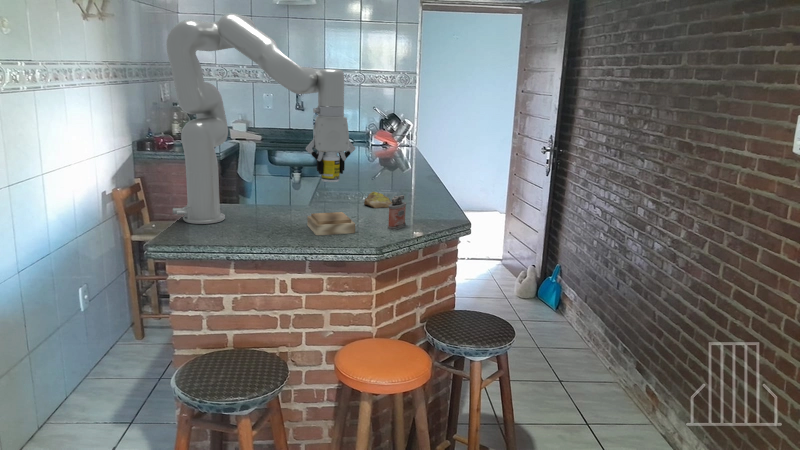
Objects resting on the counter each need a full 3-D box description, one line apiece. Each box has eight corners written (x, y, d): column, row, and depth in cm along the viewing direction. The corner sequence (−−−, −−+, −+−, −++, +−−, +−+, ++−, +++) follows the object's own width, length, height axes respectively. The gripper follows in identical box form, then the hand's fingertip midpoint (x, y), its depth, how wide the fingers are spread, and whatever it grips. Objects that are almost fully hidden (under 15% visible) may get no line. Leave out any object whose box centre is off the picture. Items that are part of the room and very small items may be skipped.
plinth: (316, 235, 176) (316, 222, 175) (307, 225, 187) (307, 213, 186) (355, 233, 180) (355, 220, 179) (344, 223, 191) (344, 211, 190)
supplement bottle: (336, 183, 177) (336, 150, 174) (319, 181, 178) (319, 148, 175) (341, 179, 182) (342, 147, 179) (324, 178, 183) (325, 146, 180)
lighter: (394, 230, 185) (395, 199, 183) (385, 228, 187) (386, 197, 184) (407, 225, 192) (409, 195, 189) (398, 223, 194) (400, 193, 191)
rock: (365, 208, 224) (356, 201, 215) (371, 191, 225) (363, 183, 216) (394, 218, 220) (387, 212, 211) (401, 200, 221) (394, 193, 212)
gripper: (304, 113, 168) (305, 176, 173) (362, 113, 174) (361, 174, 179) (299, 111, 175) (299, 172, 180) (355, 111, 181) (354, 170, 186)
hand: (330, 172), depth 179 cm, fingers closed on supplement bottle, 5 cm apart
